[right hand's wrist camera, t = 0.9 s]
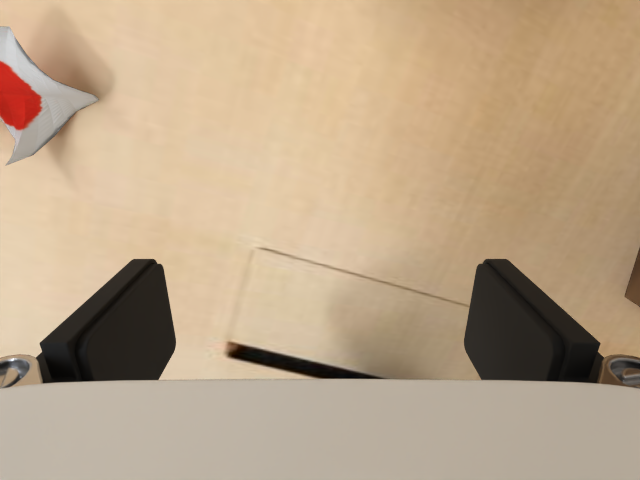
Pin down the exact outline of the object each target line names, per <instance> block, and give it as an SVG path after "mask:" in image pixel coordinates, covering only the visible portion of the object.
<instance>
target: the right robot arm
mask: <svg viewBox="0 0 640 480" xmlns="http://www.w3.org/2000/svg"><path fill="white" fill-rule="evenodd" d="M40 346H41V349H42V353H41V354H39V355H38V356H37V357H36V358H35V357H33V356H30V355H20V354H19V355H11V356H6V357H2V358H0V480H640V358H638V357H634V356H629V355H621V354H620V355H610V356H607V357H605V358H604V357H603V356H602V355H601V354H599V353H598V349H599V346H600V342H598V341H597V340H596V339H595V338H594V337H593V336H592V335H591V334H590V333H588V332H587V331H586V330H585V329H584V328H583V327H582V326H581V325H580V324H578V323H577V322H576V321H575V320H574V319H573V318H572V317H571V316H570V315H568V314H567V313H566V312H565V311H564V310H563V309H562V308H561V307H560V306H558V305H557V304H556V303H555V302H554V301H553V300H552V299H551V298H550V297H548V296H547V295H546V294H545V293H544V292H543V291H542V290H541V289H540V288H538V287H537V286H536V285H535V284H534V283H533V282H532V281H531V280H530V279H528V278H527V277H526V276H525V275H524V274H523V273H522V272H521V271H520V270H518V269H517V268H516V267H515V266H514V265H513V264H512V263H511V262H510V261H508V260H507V259H486V260H485V261H484V262H483V264H479V265H478V266H477V269H476V275H475V280H474V286H473V292H472V298H471V303H470V309H469V315H468V321H467V326H466V332H465V338H464V346H465V350H466V353H467V354H468V356H469V358H470V360H471V362H472V363H473V365H474V367H475V369H476V370H477V372H478V374H479V376H480V378H481V379H482V380H418V379H214V380H158V379H159V378H160V376H161V374H162V372H163V370H164V369H165V367H166V365H167V363H168V362H169V360H170V358H171V356H172V354H173V353H174V350H175V346H176V338H175V332H174V326H173V321H172V315H171V309H170V303H169V298H168V292H167V286H166V280H165V275H164V269H163V266H162V265H161V264H157V262H156V261H155V260H154V259H133V260H132V261H130V262H129V263H128V264H127V265H126V266H125V267H124V268H123V269H122V270H120V271H119V272H118V273H117V274H116V275H115V276H114V277H113V278H112V279H110V280H109V281H108V282H107V283H106V284H105V285H104V286H103V287H102V288H100V289H99V290H98V291H97V292H96V293H95V294H94V295H93V296H92V297H90V298H89V299H88V300H87V301H86V302H85V303H84V304H83V305H82V306H80V307H79V308H78V309H77V310H76V311H75V312H74V313H73V314H72V315H70V316H69V317H68V318H67V319H66V320H65V321H64V322H63V323H62V324H60V325H59V326H58V327H57V328H56V329H55V330H54V331H53V332H52V333H50V334H49V335H48V336H47V337H46V338H45V339H44V340H43V341H42V342H40Z"/></svg>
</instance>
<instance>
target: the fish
mask: <svg viewBox="0 0 640 480" xmlns="http://www.w3.org/2000/svg"><path fill="white" fill-rule="evenodd" d="M98 100H99V99H98V98H97V97H96V96H95V95H92V94H90V93H87V92H83V91H80V90H77V89H75V88H72V87H70V86H67V85H65V84H62V83H60V82H57V81H55V80H53V79H51V78H50V77H49V76H48V75H46V74H45V73H44V72H43V71H41V70H40V69H39V68H38V67H37V66H36V65H35V63H34V62H33V61H32V60H31V59H30V58H29V57H28V56H27V54H26V53H25V52H24V50H23V49H22V47H21V46H20V44H19V43H18V41H17V40H16V38H15V36H14V34H13V32H12V31H11V29H10V27H0V119H1V120H2V121H3V122H4V123H5V125H6V127H7V128H8V130H9V132H10V133H11V134H12V136H13V137H14V138H15V147H14V151H13V155H12V156H11V158H10V160H9V161H8V163H7V164H6V165H8V164H11V163H14V162H16V161H19V160H21V159H24V158H27V157H29V156H32V155H34V154H35V153H36V152H37V151H38V150H39V149H40V148H42V147H43V146H44V145H45V144H46V143H47V142H48V141H50V140H51V139H52V138H53V137H54V136H55V135H56V134H57V133H58V131H59V130H60V129H61V128H62V127H63V126H64V124H65V123H66V122H67V121H68V120H69V119H70V118H71V117H72V116H73V115H74V114H75V112H76V111H78V110H80V109H82V108H85V107H86V106H88V105H90V104H92V103H94V102H97V101H98ZM6 165H5V166H6Z"/></svg>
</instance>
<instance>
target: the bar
mask: <svg viewBox="0 0 640 480" xmlns="http://www.w3.org/2000/svg"><path fill="white" fill-rule="evenodd" d="M625 297H626V298H628V299H629V300H631V301H632V302H634V303H635V304H637V305H638V306H640V249H639V253H638V256H637V259H636V262H635V265H634V268H633V272H632V275H631V278H630V281H629V284H628V288H627V291H626V294H625Z"/></svg>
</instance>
